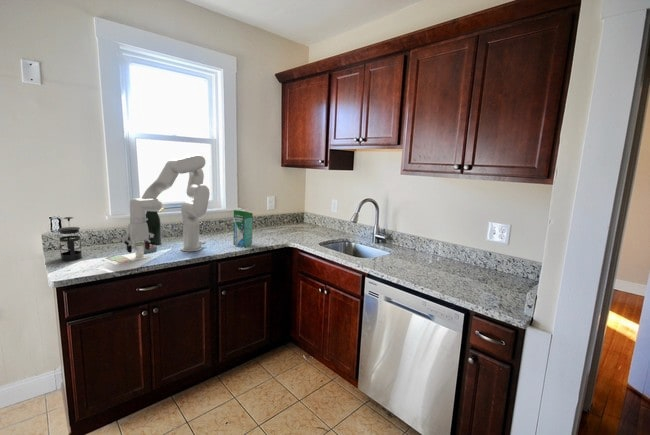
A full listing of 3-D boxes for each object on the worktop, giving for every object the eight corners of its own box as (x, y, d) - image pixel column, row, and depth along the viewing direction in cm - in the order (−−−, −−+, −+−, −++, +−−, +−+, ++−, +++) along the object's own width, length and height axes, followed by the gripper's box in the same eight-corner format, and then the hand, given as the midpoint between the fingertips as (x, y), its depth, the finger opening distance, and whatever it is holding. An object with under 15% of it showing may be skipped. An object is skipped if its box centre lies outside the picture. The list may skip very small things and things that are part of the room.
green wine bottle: (161, 244, 211) (160, 195, 206) (143, 246, 206) (141, 195, 201) (161, 241, 220) (159, 193, 215) (143, 242, 215) (142, 193, 210)
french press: (59, 257, 174) (56, 216, 170) (80, 255, 180) (78, 215, 177) (61, 263, 166) (58, 219, 162) (84, 260, 172) (81, 218, 169)
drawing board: (136, 253, 189) (136, 251, 188) (151, 258, 180) (151, 256, 180) (98, 261, 172) (98, 259, 172) (113, 267, 163) (113, 265, 163)
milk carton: (252, 245, 222) (252, 209, 219) (243, 247, 214) (244, 211, 210) (241, 243, 226) (242, 208, 222) (233, 245, 218) (233, 209, 214)
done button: (149, 248, 194) (148, 243, 193) (152, 249, 192) (152, 244, 191) (142, 249, 190) (142, 244, 190) (146, 250, 188) (146, 246, 188)
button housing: (150, 250, 196) (150, 244, 195) (156, 252, 192) (156, 246, 192) (138, 253, 190) (138, 246, 189) (145, 255, 186) (144, 248, 186)
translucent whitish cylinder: (141, 255, 182) (140, 241, 181) (145, 256, 180) (145, 243, 179) (133, 256, 179) (133, 243, 177) (137, 258, 176) (137, 244, 175)
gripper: (149, 218, 185) (150, 247, 188) (117, 221, 171) (118, 252, 173) (157, 220, 181) (157, 249, 184) (124, 223, 167) (125, 254, 169)
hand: (138, 250), depth 178 cm, fingers open, 9 cm apart
